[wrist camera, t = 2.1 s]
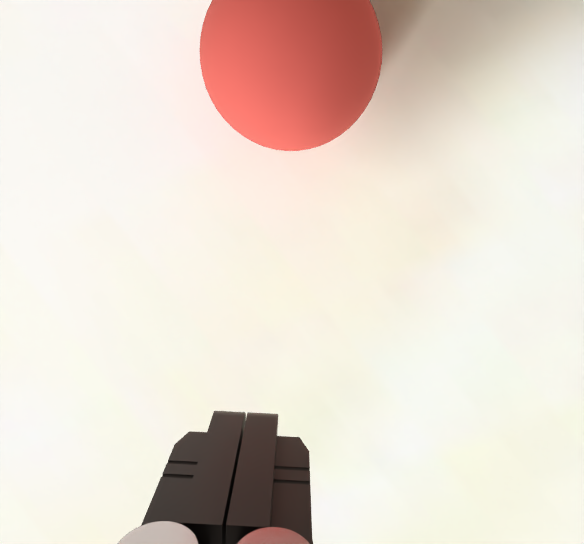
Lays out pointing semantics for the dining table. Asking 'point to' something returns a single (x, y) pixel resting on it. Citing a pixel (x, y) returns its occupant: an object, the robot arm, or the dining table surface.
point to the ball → (290, 67)
